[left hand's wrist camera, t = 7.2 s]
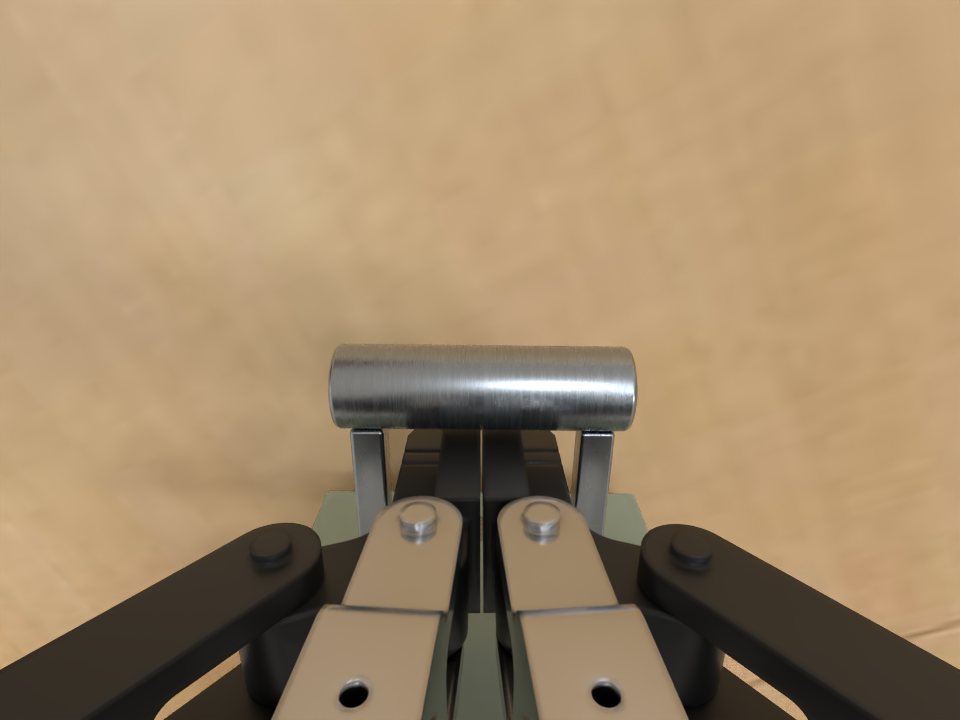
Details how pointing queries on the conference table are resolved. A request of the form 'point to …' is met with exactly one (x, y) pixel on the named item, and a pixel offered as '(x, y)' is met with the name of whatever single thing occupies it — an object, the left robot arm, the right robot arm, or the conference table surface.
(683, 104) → the conference table surface
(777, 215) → the conference table surface
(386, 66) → the conference table surface
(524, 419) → the drawer
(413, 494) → the left robot arm
